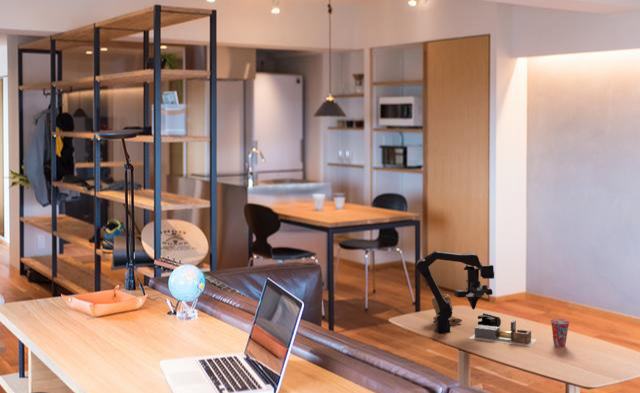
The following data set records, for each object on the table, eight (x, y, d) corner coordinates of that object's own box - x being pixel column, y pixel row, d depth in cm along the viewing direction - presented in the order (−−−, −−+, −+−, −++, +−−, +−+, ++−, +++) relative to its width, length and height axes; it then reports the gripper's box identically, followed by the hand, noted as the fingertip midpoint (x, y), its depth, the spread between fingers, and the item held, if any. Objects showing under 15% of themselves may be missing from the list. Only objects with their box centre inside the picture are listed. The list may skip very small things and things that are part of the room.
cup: (569, 349, 374) (570, 323, 373) (551, 348, 376) (551, 323, 375) (567, 343, 383) (568, 318, 382) (549, 342, 385) (549, 318, 384)
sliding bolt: (489, 337, 392) (489, 319, 391) (492, 335, 396) (492, 317, 395) (524, 342, 384) (524, 323, 383) (526, 339, 388) (527, 321, 387)
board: (468, 338, 393) (468, 338, 393) (477, 332, 404) (477, 332, 404) (529, 346, 378) (529, 346, 378) (536, 340, 390) (536, 339, 390)
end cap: (501, 329, 411) (501, 316, 411) (491, 331, 407) (491, 318, 407) (487, 325, 420) (487, 312, 419) (477, 327, 416) (477, 314, 415)
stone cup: (427, 321, 429) (427, 293, 428) (445, 318, 435) (445, 291, 433) (444, 327, 416) (444, 298, 414) (462, 324, 422) (463, 296, 420)
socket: (513, 342, 385) (513, 332, 385) (517, 338, 391) (517, 329, 391) (527, 344, 382) (527, 334, 382) (531, 340, 388) (531, 330, 388)
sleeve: (474, 337, 395) (474, 327, 395) (478, 334, 401) (478, 324, 400) (495, 339, 390) (495, 330, 389) (499, 336, 395) (499, 327, 395)
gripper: (463, 283, 392) (463, 314, 393) (497, 280, 397) (497, 311, 398) (453, 278, 402) (453, 309, 404) (487, 276, 407) (487, 306, 409)
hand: (473, 309), depth 403 cm, fingers closed
